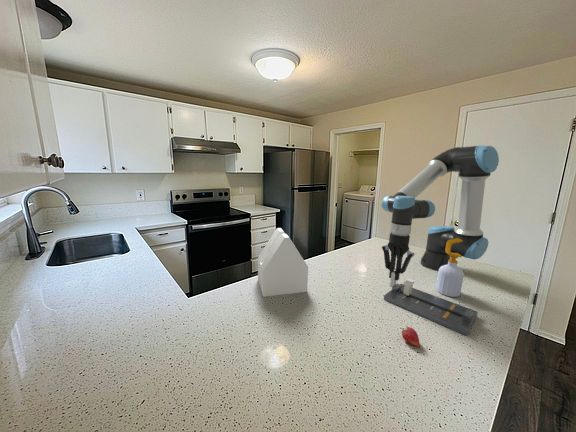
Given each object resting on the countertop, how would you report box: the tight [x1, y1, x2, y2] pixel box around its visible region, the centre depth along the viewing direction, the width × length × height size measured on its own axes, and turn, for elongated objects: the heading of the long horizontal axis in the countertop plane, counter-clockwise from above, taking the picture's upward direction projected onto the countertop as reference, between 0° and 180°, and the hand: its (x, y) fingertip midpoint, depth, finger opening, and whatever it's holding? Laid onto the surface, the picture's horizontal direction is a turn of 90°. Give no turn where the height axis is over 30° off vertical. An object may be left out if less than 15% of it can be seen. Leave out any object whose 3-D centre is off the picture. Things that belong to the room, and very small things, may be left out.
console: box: [383, 283, 479, 336], centre depth 92 cm, size 16×28×4 cm, turn 42°
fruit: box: [401, 324, 421, 348], centre depth 73 cm, size 4×6×5 cm
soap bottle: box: [435, 238, 465, 298], centre depth 102 cm, size 9×9×25 cm
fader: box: [403, 278, 415, 296], centre depth 97 cm, size 5×2×5 cm, turn 132°
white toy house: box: [257, 227, 309, 298], centre depth 104 cm, size 19×15×25 cm
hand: (392, 285), depth 102 cm, fingers closed
